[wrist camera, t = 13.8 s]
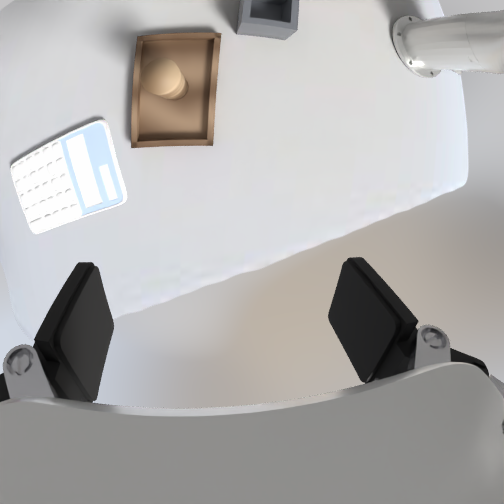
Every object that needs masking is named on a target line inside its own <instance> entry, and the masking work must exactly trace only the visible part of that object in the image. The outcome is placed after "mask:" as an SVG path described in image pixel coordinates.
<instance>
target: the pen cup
mask: <svg viewBox="0 0 504 504" xmlns="http://www.w3.org/2000/svg"><path fill="white" fill-rule="evenodd" d="M298 12H299V0H240V5H239V14H238V23H237V33H236V34H240V35H251V36H260V37H268V38H275V39H281V40H286V39H287V38H288V37H289V36H291V35H292V34H293V33H294V32H296V31H297V27H298Z"/></svg>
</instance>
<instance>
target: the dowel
mask: <svg viewBox="0 0 504 504" xmlns="http://www.w3.org/2000/svg"><path fill="white" fill-rule="evenodd" d="M141 83H142V86H143V87H144V89H145V90H147V91H148V92H150V93H153V94H156V95H158V96H161V97H164V98H166V99H169V100H179V99H181V98H183V97H184V96H185V95H186V94H187V92H188V88H189V85H188V82H187V80H186V79H185V77H184V76H183V74H182V72H181V71H180V69H179V68H178V66H177V65H176V63H175V62H173V61H172V60H170V59H167V58H158V59H155V60H153V61H151V62H149V63H148V64H147V65H146V66H145V67H144V69H143V71H142V73H141Z"/></svg>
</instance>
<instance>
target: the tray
mask: <svg viewBox="0 0 504 504" xmlns="http://www.w3.org/2000/svg"><path fill="white" fill-rule="evenodd" d="M220 42H221V33H170V34H156V35H146V36H138V37H137V44H136V53H135V63H134V74H133V89H132V114H131V148H141V147H159V146H213V137H214V119H215V103H216V88H217V75H218V63H219V52H220ZM158 58H167V59H170V60H172V61H173V62H175V63H176V65H177V66H178V68H179V69H180V71H181V72H182V74H183V76H184V77H185V79H186V80H187V82H188V85H189V88H188V92H187V94H186V95H185V96H184V97H183V98H181V99H179V100H169V99H166V98H164V97H161V96H158V95H156V94H153V93H150V92H148V91H147V90H145V89H144V87H143V86H142V83H141V73H142V71H143V69H144V67H145V66H146V65H147V64H148V63H149V62H151V61H153V60H155V59H158Z"/></svg>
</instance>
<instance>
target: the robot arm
mask: <svg viewBox="0 0 504 504" xmlns="http://www.w3.org/2000/svg"><path fill="white" fill-rule="evenodd" d="M392 35H393V42H394V45H395V48H396V51H397V53H398V55H399V57H400V58H401V60H402V61H403V63H404V64H405V65H406V66H407V67H408V69H409V70H411V71H412V72H413V73H415V74H416V75H418V76H420V77H424V78H433V77H436V76H437V75H438V74H439V73H440V72H441V70H452V71H454V72H455V73H457V74H458V75H460V74H461V73H462V71H476V72H486V73H495V74H502V73H504V10H502V11H493V12H481V13H469V14H460V15H451V16H444V17H438V18H432V19H427V20H421V19H419V18H417V17H414V16H403V17H401V18H399V19H398V20H397V21H396V22H395V24H394V26H393V34H392ZM328 318H329V321H330V324H331V325H332V327H333V329H334V331H335V333H336V335H337V336H338V338H339V340H340V342H341V344H342V346H343V348H344V349H345V351H346V353H347V355H348V357H349V359H350V361H351V363H352V365H353V366H354V368H355V370H356V372H357V374H358V376H359V378H360V380H361V381H362V382H365V384H363V385H359V386H355V387H351V388H347V389H343V390H339V391H334V392H329V393H325V394H320V395H314V396H309V397H304V398H298V399H292V400H285V401H279V402H271V403H263V404H254V405H244V406H232V407H218V408H186V409H185V408H179V409H178V408H144V407H130V406H118V405H106V404H98V403H92V402H93V401H95V400H96V399H97V396H98V390H99V386H100V381H101V377H102V372H103V368H104V364H105V360H106V355H107V352H108V348H109V344H110V341H111V337H112V333H113V330H114V323H113V319H112V315H111V312H110V309H109V305H108V302H107V299H106V295H105V291H104V288H103V284H102V280H101V276H100V272H99V268H98V267H97V266H94V264H93V263H92V262H79V263H78V264H77V265H76V266H75V268H74V270H73V271H72V273H71V274H70V276H69V277H68V279H67V281H66V282H65V284H64V285H63V287H62V289H61V290H60V292H59V294H58V296H57V297H56V299H55V301H54V302H53V304H52V306H51V308H50V310H49V311H48V313H47V315H46V317H45V319H44V321H43V323H42V325H41V326H40V328H39V330H38V332H37V334H36V336H35V339H34V340H35V343H34V346H33V347H32V346H30V345H26V344H25V345H19V346H16V347H14V348H13V349H11V350H10V351H9V352H8V353H7V355H6V357H5V358H4V362H3V371H4V373H2V374H0V504H504V383H502V382H501V381H500V380H498V379H497V378H495V377H494V376H492V375H490V376H489V373H488V369H487V367H486V365H485V364H484V362H483V361H481V360H479V359H477V358H474V357H472V356H469V355H467V354H464V353H461V352H459V351H456V350H454V349H452V348H450V342H449V338H448V337H447V335H446V334H445V333H444V332H443V331H442V330H441V329H439V328H438V327H435V326H433V325H423V326H421V327H420V328H419V329H418V330H417V328H416V325H417V323H418V320H417V319H416V317H415V316H414V315H413V314H412V312H411V311H410V310H409V309H408V308H407V306H406V305H405V304H404V303H403V302H402V301H401V300H400V299H399V297H398V296H397V295H396V294H395V293H394V291H393V290H392V289H391V288H390V287H389V286H388V285H387V284H386V282H385V281H384V280H383V279H382V278H381V277H380V276H379V275H378V274H377V273H376V271H375V270H374V269H373V268H372V267H371V266H370V265H369V264H368V263H367V262H366V261H365V260H364V258H362V257H356V258H348V259H347V261H345V262H344V263H343V265H342V269H341V273H340V276H339V280H338V283H337V287H336V290H335V294H334V297H333V300H332V304H331V307H330V310H329V314H328Z"/></svg>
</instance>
